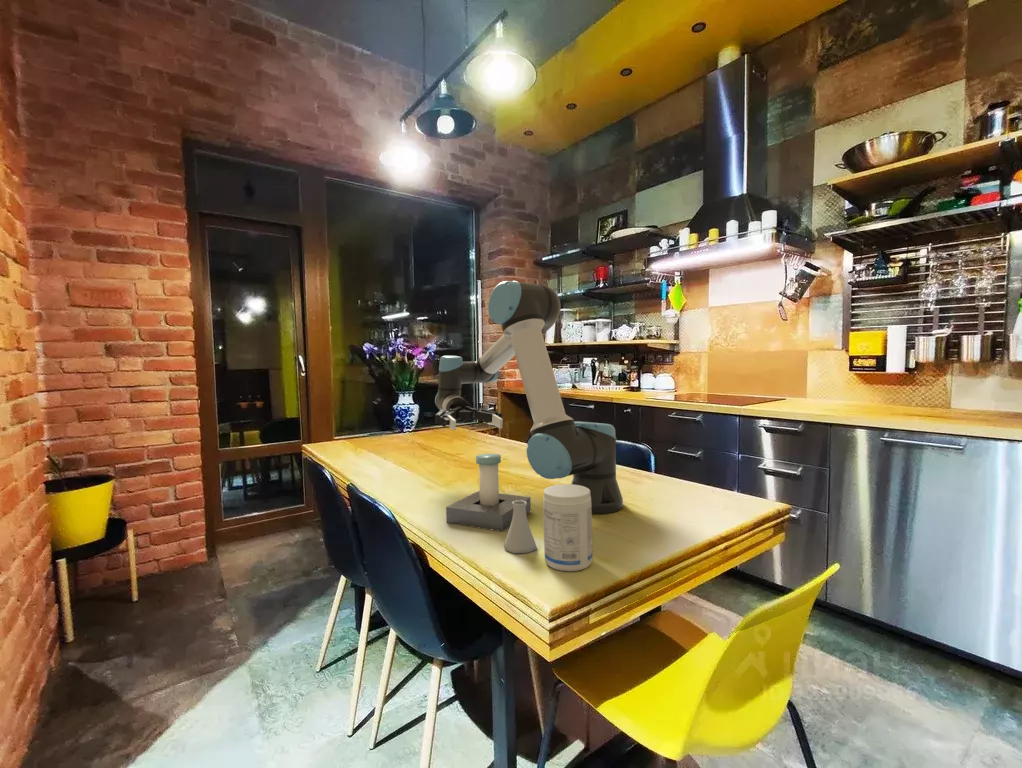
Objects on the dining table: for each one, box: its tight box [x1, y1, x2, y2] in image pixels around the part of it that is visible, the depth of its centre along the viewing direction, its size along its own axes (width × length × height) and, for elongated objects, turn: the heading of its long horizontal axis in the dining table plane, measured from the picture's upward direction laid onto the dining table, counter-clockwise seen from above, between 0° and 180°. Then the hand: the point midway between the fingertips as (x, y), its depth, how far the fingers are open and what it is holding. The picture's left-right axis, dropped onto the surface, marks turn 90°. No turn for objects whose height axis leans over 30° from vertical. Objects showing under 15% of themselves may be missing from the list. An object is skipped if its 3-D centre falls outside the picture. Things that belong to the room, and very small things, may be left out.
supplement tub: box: [542, 483, 593, 572], centre depth 95 cm, size 10×10×15 cm
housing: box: [445, 490, 532, 532], centre depth 123 cm, size 16×16×4 cm
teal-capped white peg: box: [475, 453, 502, 507], centre depth 123 cm, size 6×6×16 cm
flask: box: [503, 500, 538, 554], centre depth 103 cm, size 7×7×10 cm
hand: (478, 424), depth 131 cm, fingers open, 13 cm apart
